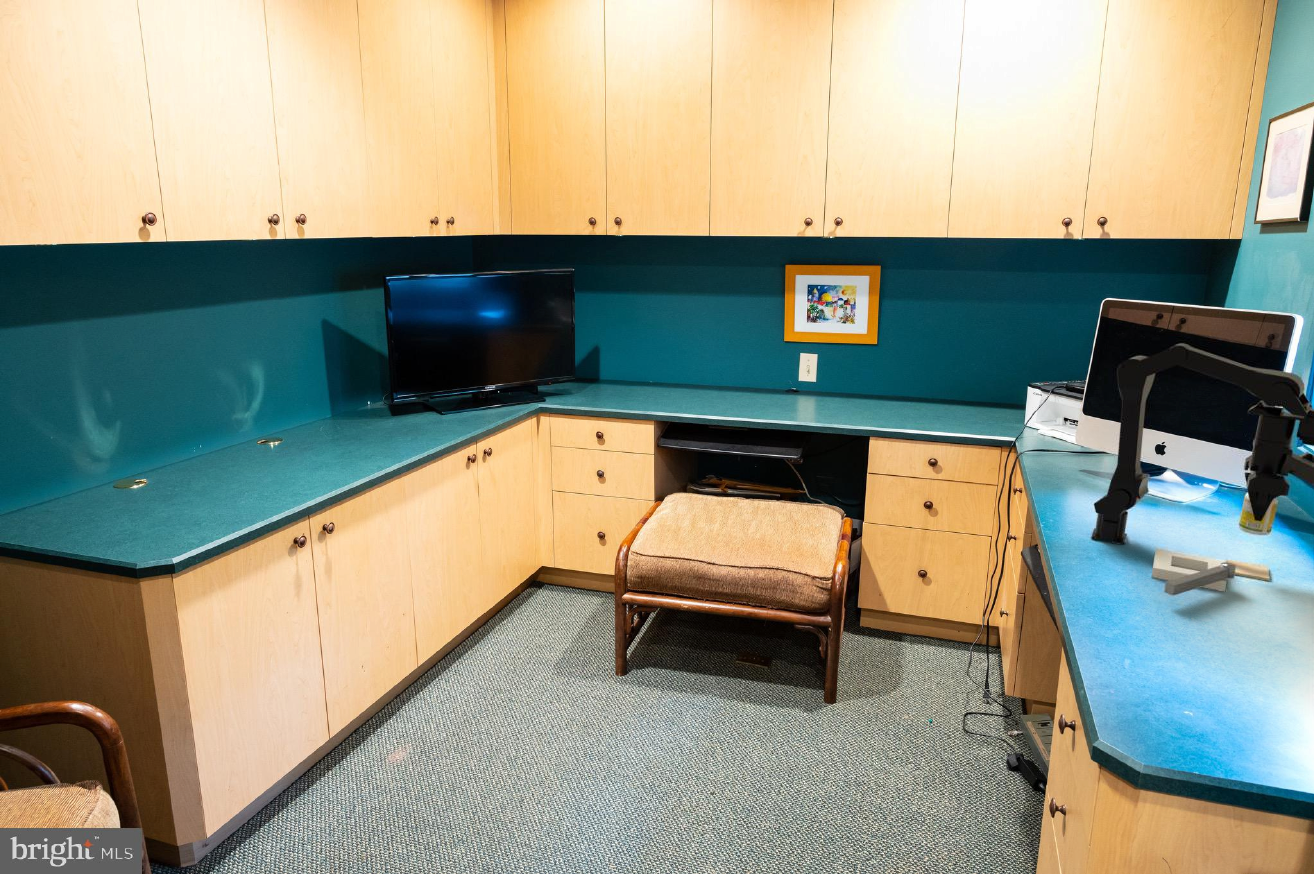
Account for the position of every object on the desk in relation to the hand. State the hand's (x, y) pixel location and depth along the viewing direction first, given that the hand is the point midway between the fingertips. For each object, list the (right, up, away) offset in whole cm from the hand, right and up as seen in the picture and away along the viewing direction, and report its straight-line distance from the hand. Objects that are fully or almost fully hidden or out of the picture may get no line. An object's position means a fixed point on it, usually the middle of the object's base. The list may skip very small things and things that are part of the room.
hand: (1257, 516), depth 169 cm
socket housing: (-13, -11, +1) cm, 17 cm away
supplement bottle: (0, -3, +1) cm, 3 cm away
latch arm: (-17, -12, -9) cm, 22 cm away
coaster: (0, -11, +3) cm, 11 cm away
